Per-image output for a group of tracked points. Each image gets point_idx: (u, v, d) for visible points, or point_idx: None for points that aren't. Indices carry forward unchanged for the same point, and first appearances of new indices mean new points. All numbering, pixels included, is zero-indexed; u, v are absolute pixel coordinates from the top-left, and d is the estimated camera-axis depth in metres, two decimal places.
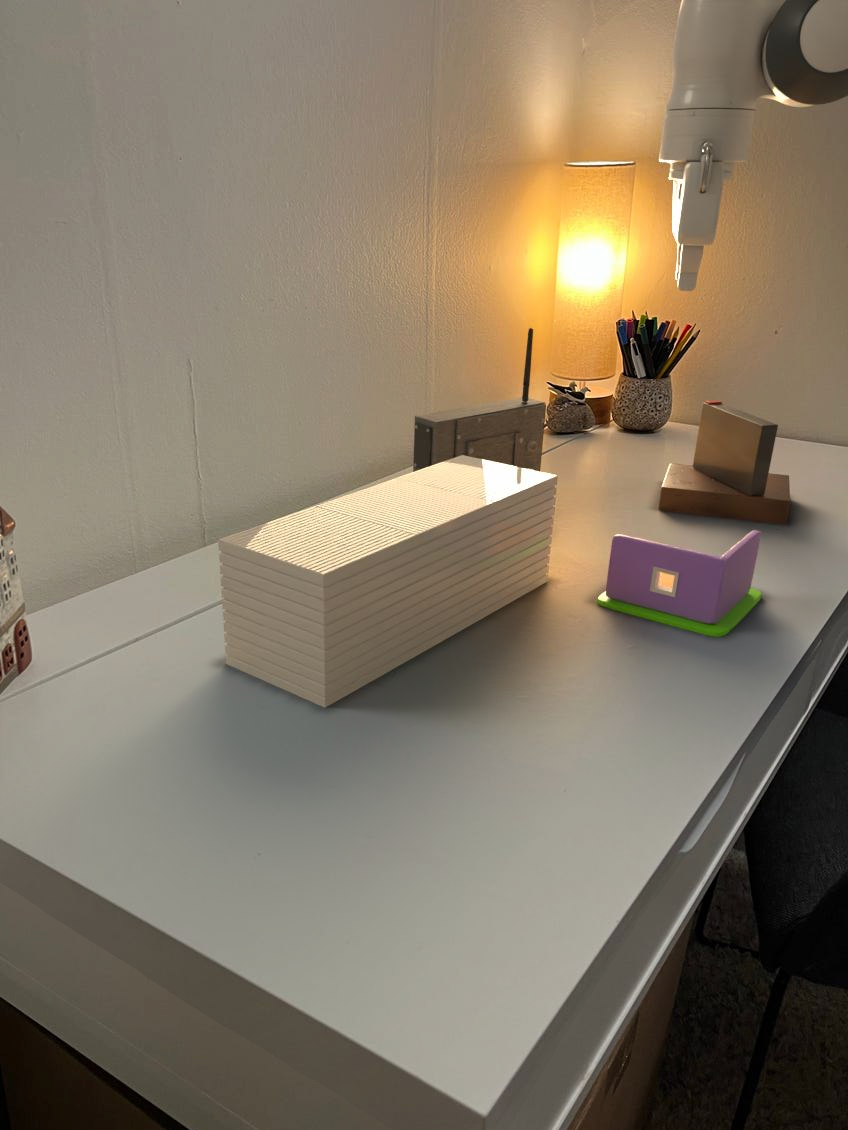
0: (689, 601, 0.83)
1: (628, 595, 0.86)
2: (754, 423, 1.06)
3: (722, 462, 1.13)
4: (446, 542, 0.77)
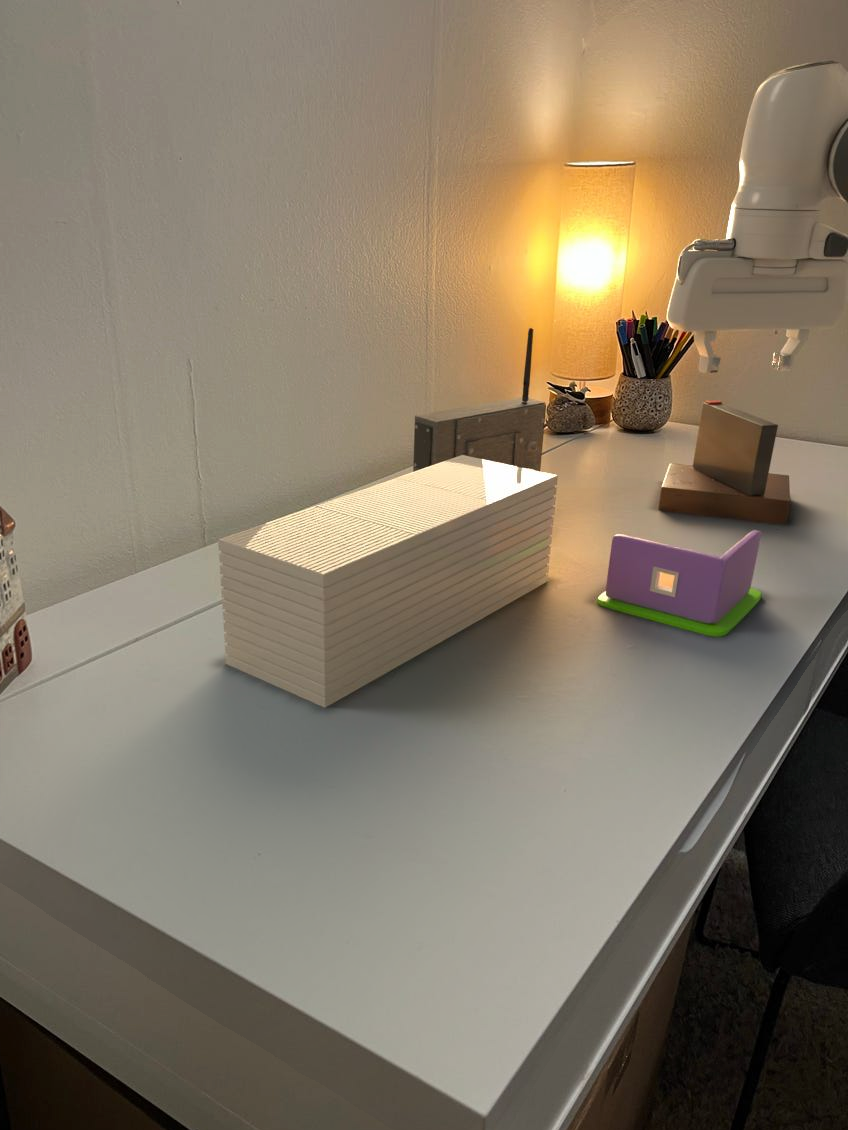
0: (689, 601, 0.83)
1: (628, 595, 0.86)
2: (754, 423, 1.06)
3: (722, 462, 1.13)
4: (446, 542, 0.77)
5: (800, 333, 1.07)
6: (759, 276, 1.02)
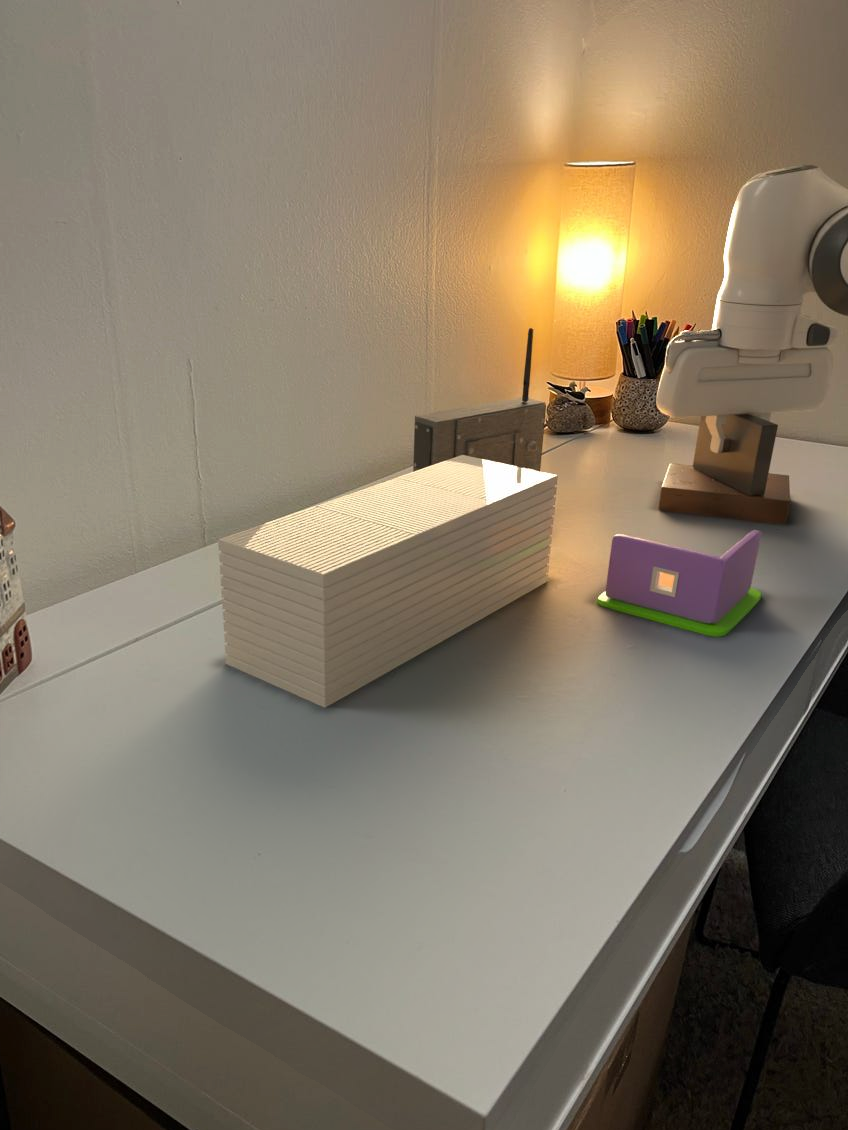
0: (689, 601, 0.83)
1: (628, 595, 0.86)
2: (754, 423, 1.06)
3: (722, 462, 1.13)
4: (446, 542, 0.77)
5: (762, 416, 1.10)
6: (744, 364, 1.06)
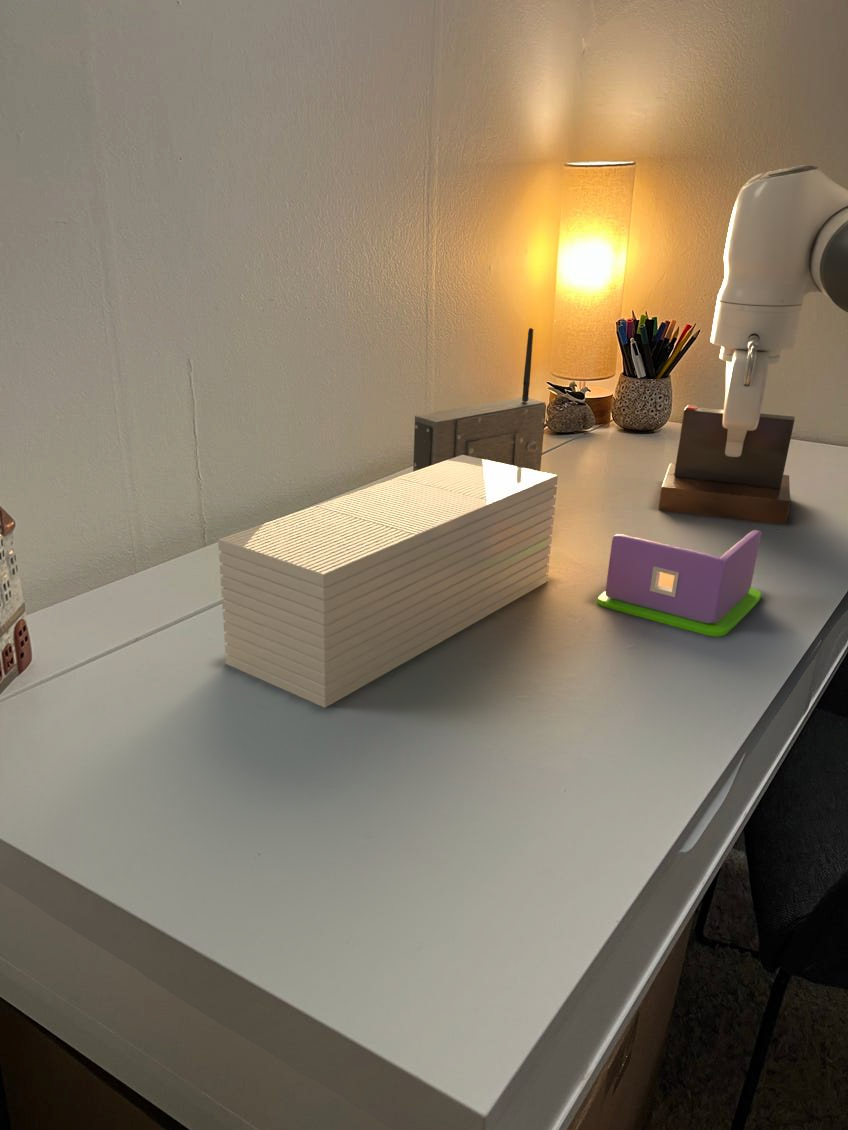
0: (689, 601, 0.83)
1: (628, 595, 0.86)
2: (780, 419, 1.08)
3: (728, 464, 1.12)
4: (446, 542, 0.77)
5: None
6: None
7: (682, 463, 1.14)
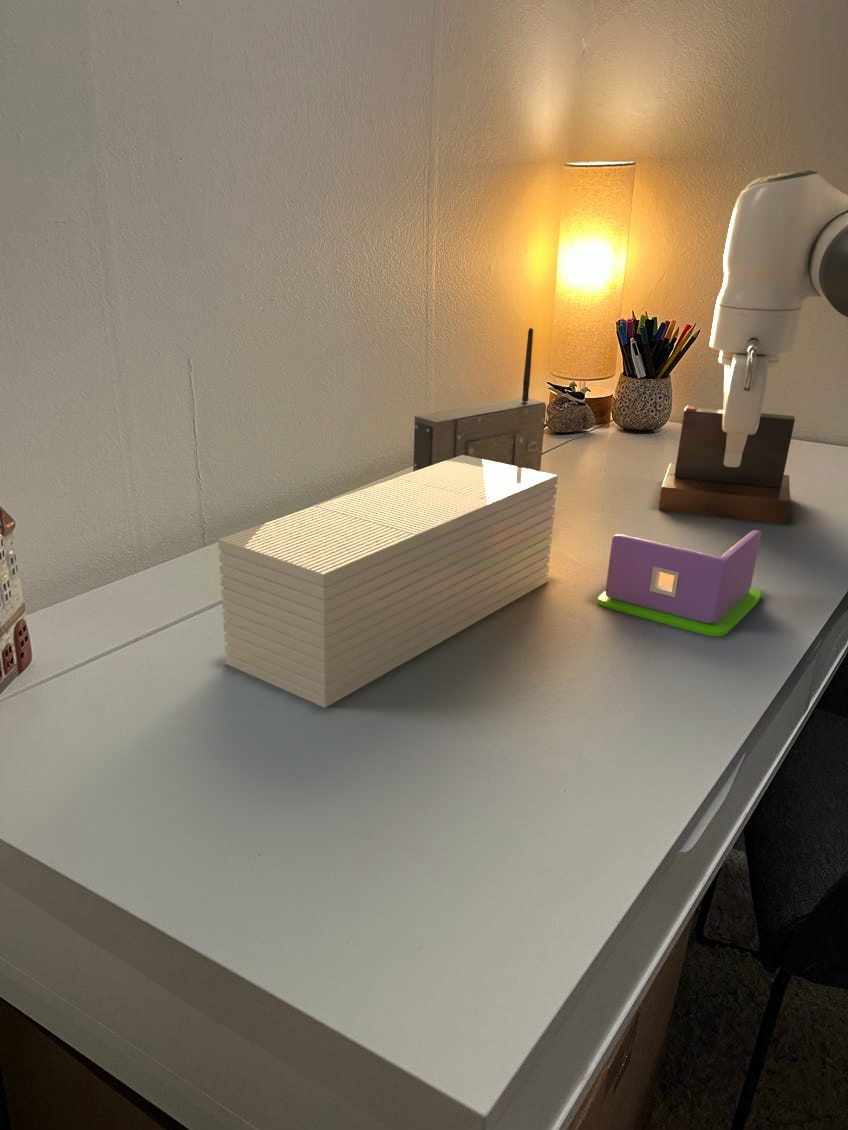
0: (689, 601, 0.83)
1: (628, 595, 0.86)
2: (780, 419, 1.08)
3: None
4: (446, 542, 0.77)
5: None
6: None
7: (682, 464, 1.14)
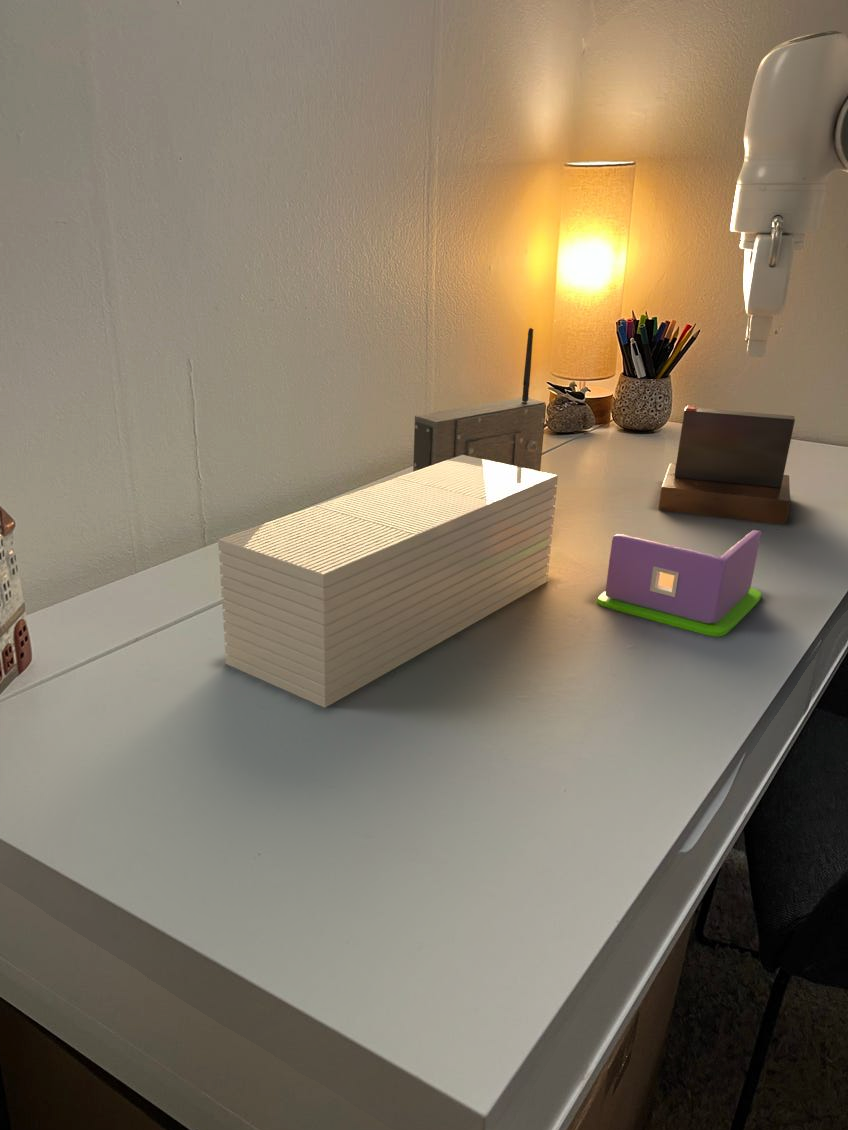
0: (689, 601, 0.83)
1: (628, 595, 0.86)
2: (780, 419, 1.08)
3: (728, 464, 1.12)
4: (446, 542, 0.77)
5: None
6: None
7: (682, 464, 1.14)
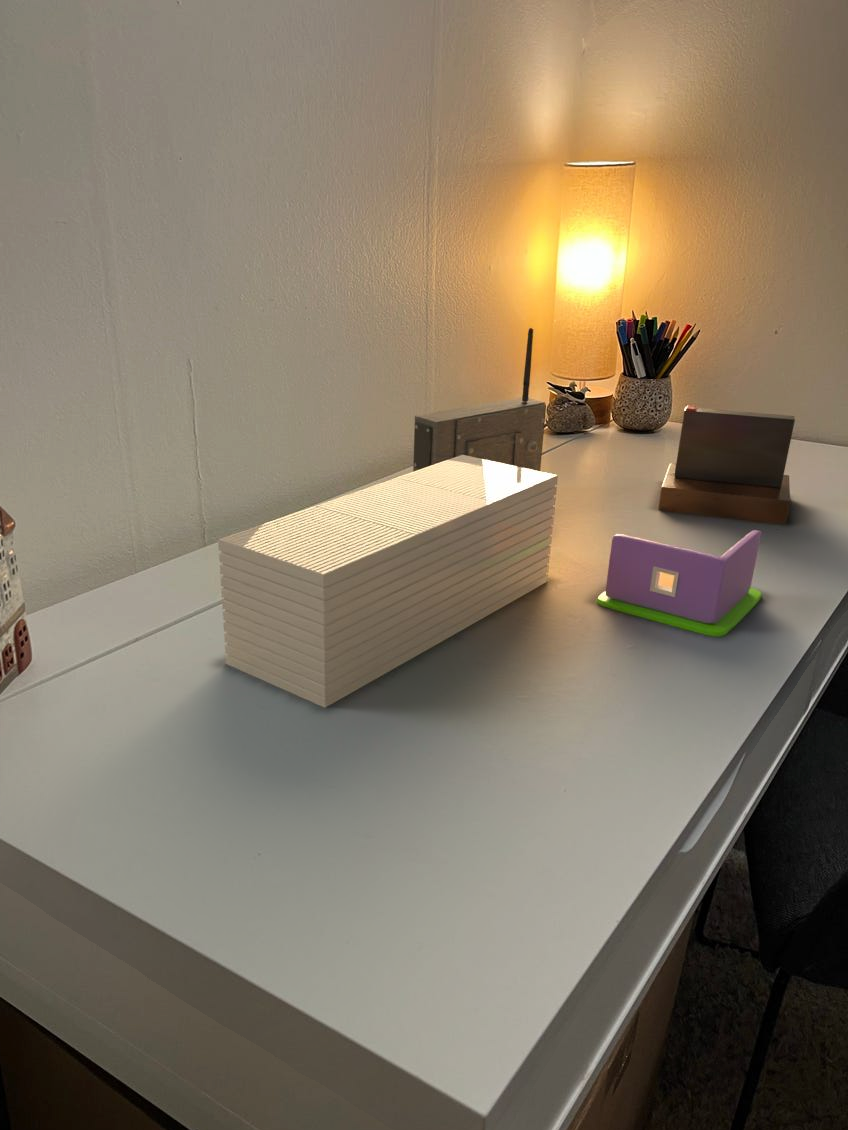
0: (689, 601, 0.83)
1: (628, 595, 0.86)
2: (780, 419, 1.08)
3: (728, 464, 1.12)
4: (446, 542, 0.77)
5: None
6: None
7: (682, 464, 1.14)
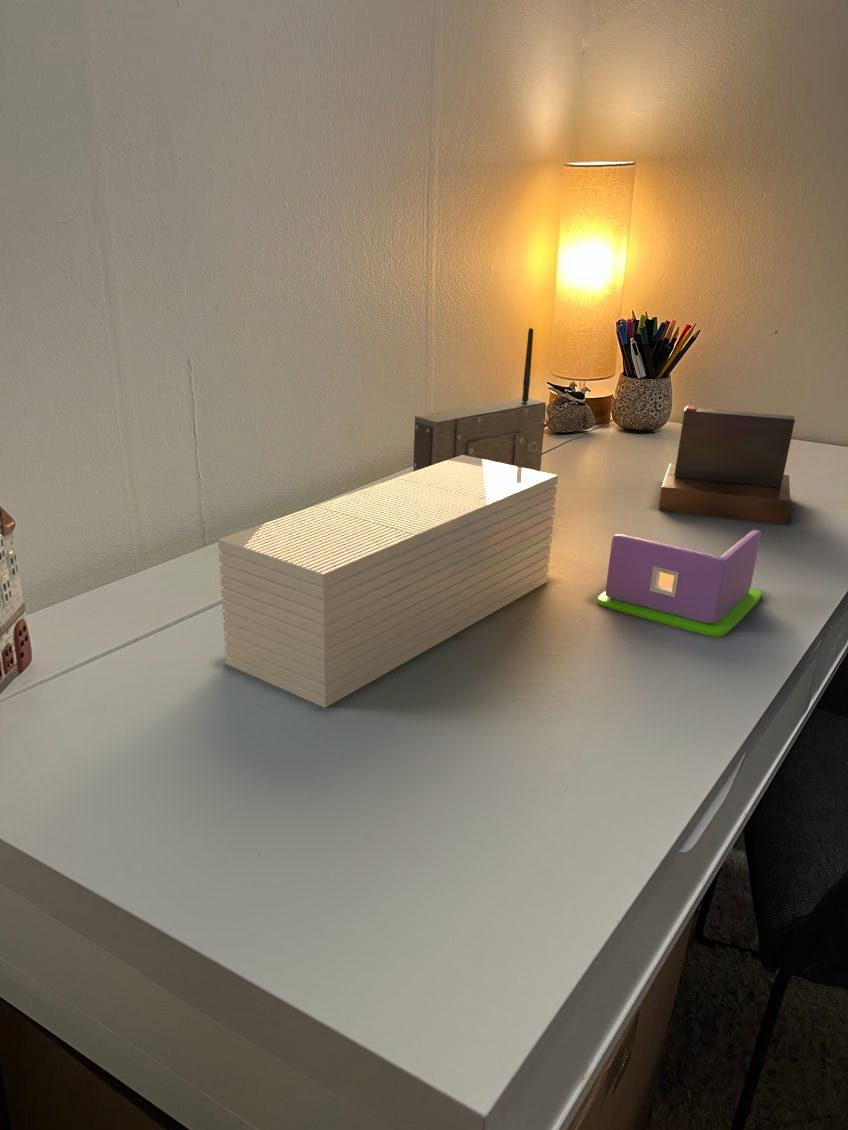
0: (689, 601, 0.83)
1: (628, 595, 0.86)
2: (780, 419, 1.08)
3: (728, 464, 1.12)
4: (446, 542, 0.77)
5: None
6: None
7: (682, 464, 1.14)
